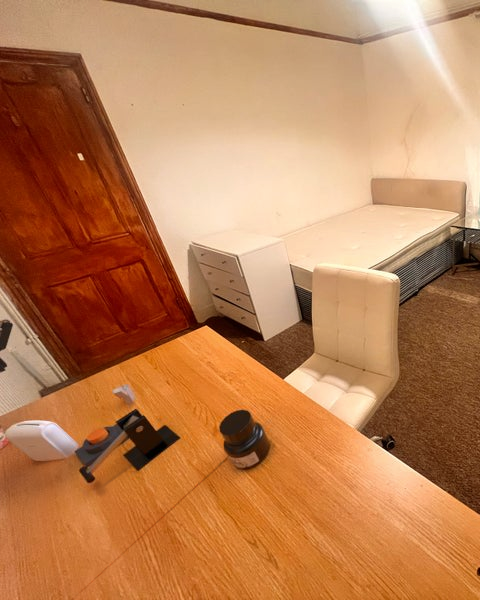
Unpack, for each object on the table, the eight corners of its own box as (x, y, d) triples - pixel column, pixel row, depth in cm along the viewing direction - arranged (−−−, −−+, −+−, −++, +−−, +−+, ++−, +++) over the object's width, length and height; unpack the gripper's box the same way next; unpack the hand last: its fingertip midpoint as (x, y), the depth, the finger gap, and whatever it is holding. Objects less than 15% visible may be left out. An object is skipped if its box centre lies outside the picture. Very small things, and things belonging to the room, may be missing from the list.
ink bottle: (223, 463, 75) (203, 432, 69) (249, 432, 82) (233, 402, 75) (254, 475, 72) (236, 444, 65) (279, 442, 79) (265, 411, 72)
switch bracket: (139, 473, 74) (112, 443, 68) (125, 457, 78) (98, 428, 72) (181, 439, 81) (160, 410, 75) (167, 427, 85) (145, 398, 79)
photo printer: (31, 463, 78) (-6, 433, 72) (47, 447, 82) (13, 417, 76) (69, 461, 78) (36, 431, 72) (84, 446, 82) (53, 415, 75)
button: (94, 447, 77) (89, 442, 76) (88, 440, 79) (84, 436, 78) (111, 435, 80) (107, 431, 79) (105, 429, 81) (101, 425, 80)
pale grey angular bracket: (128, 396, 96) (114, 378, 92) (135, 393, 97) (121, 375, 93) (127, 411, 91) (111, 392, 87) (134, 408, 92) (119, 389, 87)
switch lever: (93, 484, 68) (82, 482, 66) (85, 473, 70) (74, 470, 69) (148, 424, 75) (139, 421, 73) (138, 416, 77) (130, 412, 75)
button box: (89, 469, 76) (79, 460, 74) (79, 456, 79) (69, 447, 77) (135, 437, 83) (127, 428, 81) (124, 426, 86) (116, 417, 84)
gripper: (-22, 281, 62) (37, 347, 71) (-136, 315, 53) (-52, 386, 62) (-14, 289, 59) (47, 357, 68) (-135, 327, 49) (-46, 400, 58)
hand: (0, 371), depth 65 cm, fingers closed
